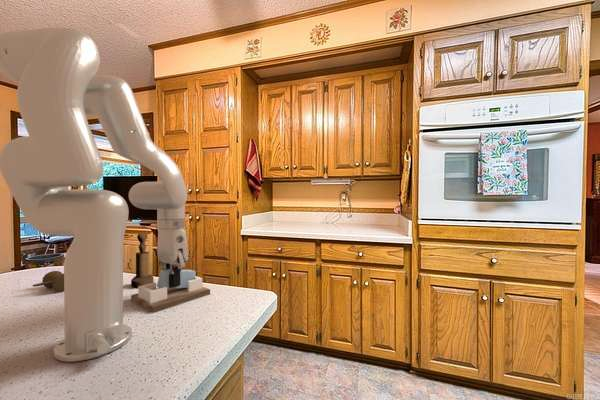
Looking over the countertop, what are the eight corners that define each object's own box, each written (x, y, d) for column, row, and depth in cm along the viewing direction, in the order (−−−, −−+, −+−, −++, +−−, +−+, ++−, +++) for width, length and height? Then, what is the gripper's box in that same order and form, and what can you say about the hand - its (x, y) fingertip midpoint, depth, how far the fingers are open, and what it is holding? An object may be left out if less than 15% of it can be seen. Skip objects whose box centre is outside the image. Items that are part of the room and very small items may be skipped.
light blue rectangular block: (192, 287, 85) (196, 271, 85) (161, 288, 77) (165, 271, 78) (187, 285, 86) (190, 269, 87) (156, 286, 79) (160, 269, 79)
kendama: (112, 281, 97) (38, 298, 79) (98, 278, 101) (25, 293, 84) (112, 265, 97) (38, 277, 79) (98, 262, 102) (26, 274, 84)
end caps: (202, 287, 84) (202, 278, 84) (150, 303, 72) (150, 292, 72) (189, 283, 89) (189, 274, 89) (138, 296, 77) (138, 286, 76)
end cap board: (210, 294, 83) (210, 289, 83) (153, 312, 69) (153, 307, 69) (186, 285, 91) (186, 280, 91) (131, 300, 78) (131, 295, 78)
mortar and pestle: (147, 280, 96) (147, 230, 96) (157, 284, 92) (157, 232, 92) (127, 285, 91) (127, 232, 90) (136, 289, 87) (136, 234, 87)
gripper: (198, 225, 78) (198, 287, 79) (170, 222, 88) (170, 277, 88) (173, 227, 72) (173, 295, 73) (145, 224, 82) (146, 283, 82)
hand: (171, 284), depth 81 cm, fingers closed on light blue rectangular block, 2 cm apart
